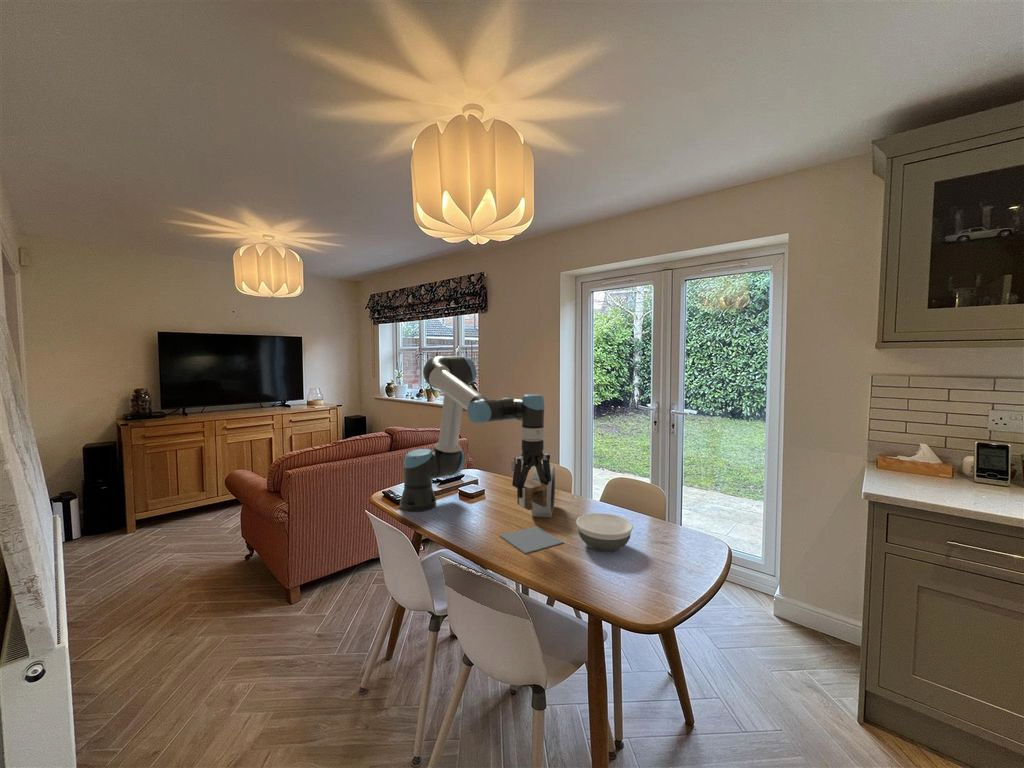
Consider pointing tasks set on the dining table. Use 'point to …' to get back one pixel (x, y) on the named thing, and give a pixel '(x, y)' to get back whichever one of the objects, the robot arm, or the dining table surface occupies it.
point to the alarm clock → (547, 511)
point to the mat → (531, 539)
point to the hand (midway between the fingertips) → (531, 504)
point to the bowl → (604, 531)
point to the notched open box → (535, 494)
